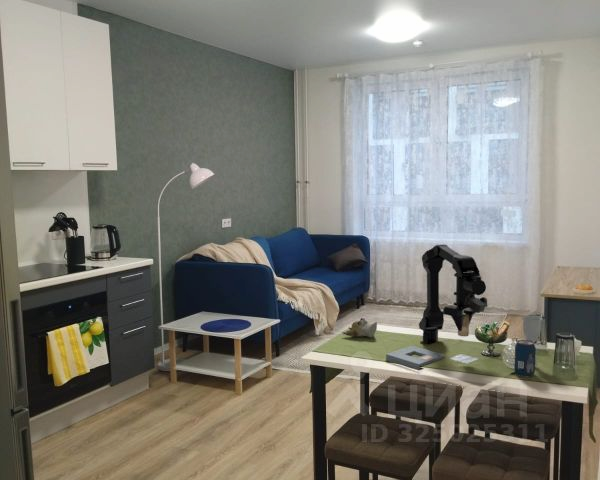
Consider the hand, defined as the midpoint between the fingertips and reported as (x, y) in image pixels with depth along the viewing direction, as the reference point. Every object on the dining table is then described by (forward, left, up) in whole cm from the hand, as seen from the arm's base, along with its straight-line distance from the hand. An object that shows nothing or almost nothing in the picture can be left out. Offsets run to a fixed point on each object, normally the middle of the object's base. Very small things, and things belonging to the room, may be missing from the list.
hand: (463, 329), depth 217 cm
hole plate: (+12, -14, -13) cm, 22 cm away
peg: (0, 0, -2) cm, 2 cm away
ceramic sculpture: (+3, -51, -13) cm, 53 cm away
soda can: (-5, +22, -13) cm, 26 cm away
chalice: (-17, +18, -13) cm, 28 cm away
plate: (0, 0, -13) cm, 13 cm away
